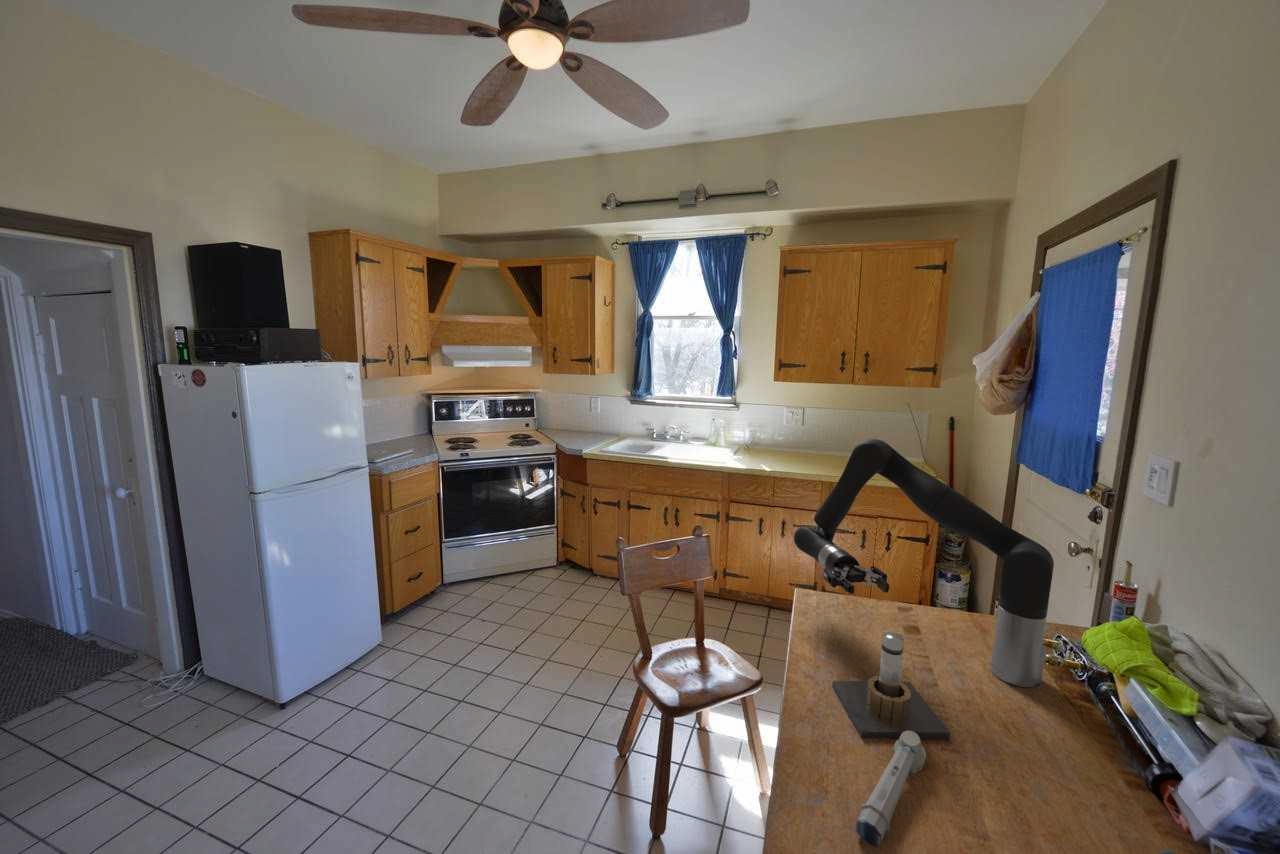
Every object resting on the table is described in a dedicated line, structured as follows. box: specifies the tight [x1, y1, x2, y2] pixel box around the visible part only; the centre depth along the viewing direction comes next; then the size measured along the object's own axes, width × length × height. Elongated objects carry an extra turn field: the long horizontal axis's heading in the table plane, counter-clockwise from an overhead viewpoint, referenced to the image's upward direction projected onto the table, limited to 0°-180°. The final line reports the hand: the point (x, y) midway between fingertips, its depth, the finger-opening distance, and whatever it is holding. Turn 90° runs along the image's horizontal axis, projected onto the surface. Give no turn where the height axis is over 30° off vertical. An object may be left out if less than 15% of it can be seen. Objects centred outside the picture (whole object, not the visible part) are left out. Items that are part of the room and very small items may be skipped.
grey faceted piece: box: [855, 731, 927, 847], centre depth 91 cm, size 5×7×25 cm
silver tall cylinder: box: [878, 631, 905, 698], centre depth 110 cm, size 4×4×16 cm
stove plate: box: [831, 675, 951, 740], centre depth 111 cm, size 18×16×6 cm
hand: (870, 589), depth 121 cm, fingers open, 8 cm apart
